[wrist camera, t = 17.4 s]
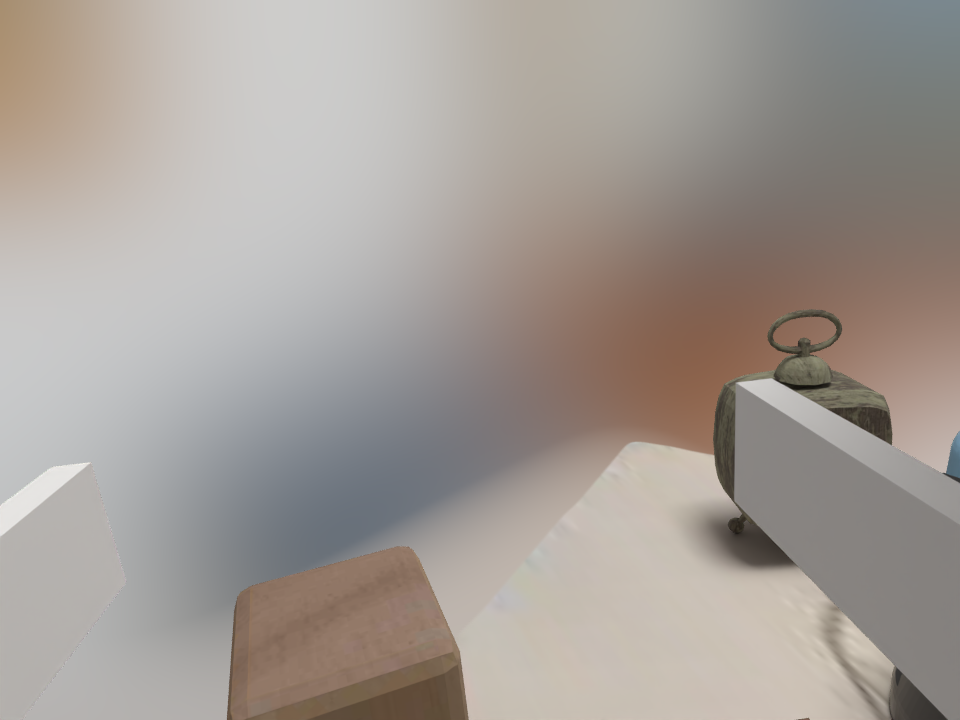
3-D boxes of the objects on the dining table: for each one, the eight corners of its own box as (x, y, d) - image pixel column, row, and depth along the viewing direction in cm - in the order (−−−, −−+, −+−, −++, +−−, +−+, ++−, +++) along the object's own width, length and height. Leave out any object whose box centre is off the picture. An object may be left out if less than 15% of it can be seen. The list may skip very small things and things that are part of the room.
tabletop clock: (843, 514, 70) (857, 295, 63) (893, 562, 61) (917, 313, 54) (712, 525, 71) (713, 308, 64) (744, 574, 62) (749, 329, 55)
